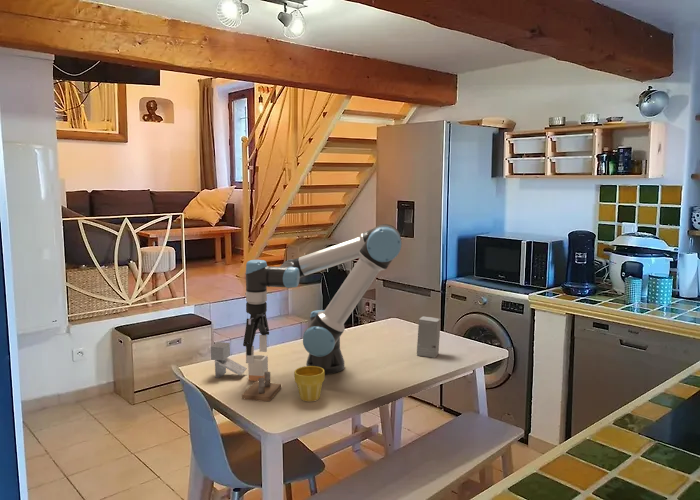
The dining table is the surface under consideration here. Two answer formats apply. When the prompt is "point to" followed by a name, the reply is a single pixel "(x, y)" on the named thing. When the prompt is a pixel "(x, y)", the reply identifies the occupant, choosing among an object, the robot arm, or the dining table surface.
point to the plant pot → (309, 382)
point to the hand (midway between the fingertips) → (256, 357)
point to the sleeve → (258, 367)
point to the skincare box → (428, 337)
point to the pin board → (261, 397)
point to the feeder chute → (224, 360)
